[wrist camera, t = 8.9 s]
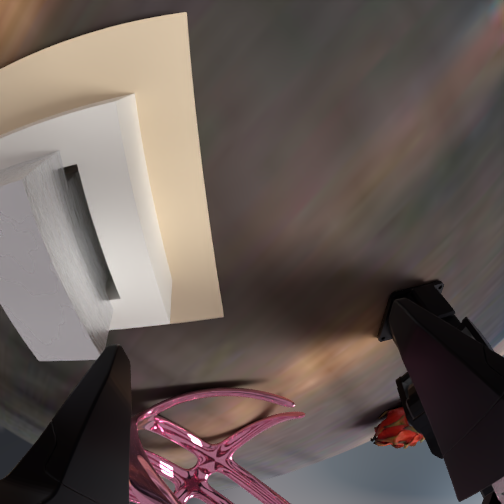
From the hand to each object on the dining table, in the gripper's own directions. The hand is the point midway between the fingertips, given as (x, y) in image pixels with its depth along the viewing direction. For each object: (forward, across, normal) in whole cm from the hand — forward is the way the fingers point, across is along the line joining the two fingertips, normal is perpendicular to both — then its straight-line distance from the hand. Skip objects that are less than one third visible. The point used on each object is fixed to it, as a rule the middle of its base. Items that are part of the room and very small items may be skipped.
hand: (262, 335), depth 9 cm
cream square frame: (+11, +10, -1) cm, 15 cm away
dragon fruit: (+13, -23, +40) cm, 48 cm away
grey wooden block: (+10, +9, -1) cm, 14 cm away
